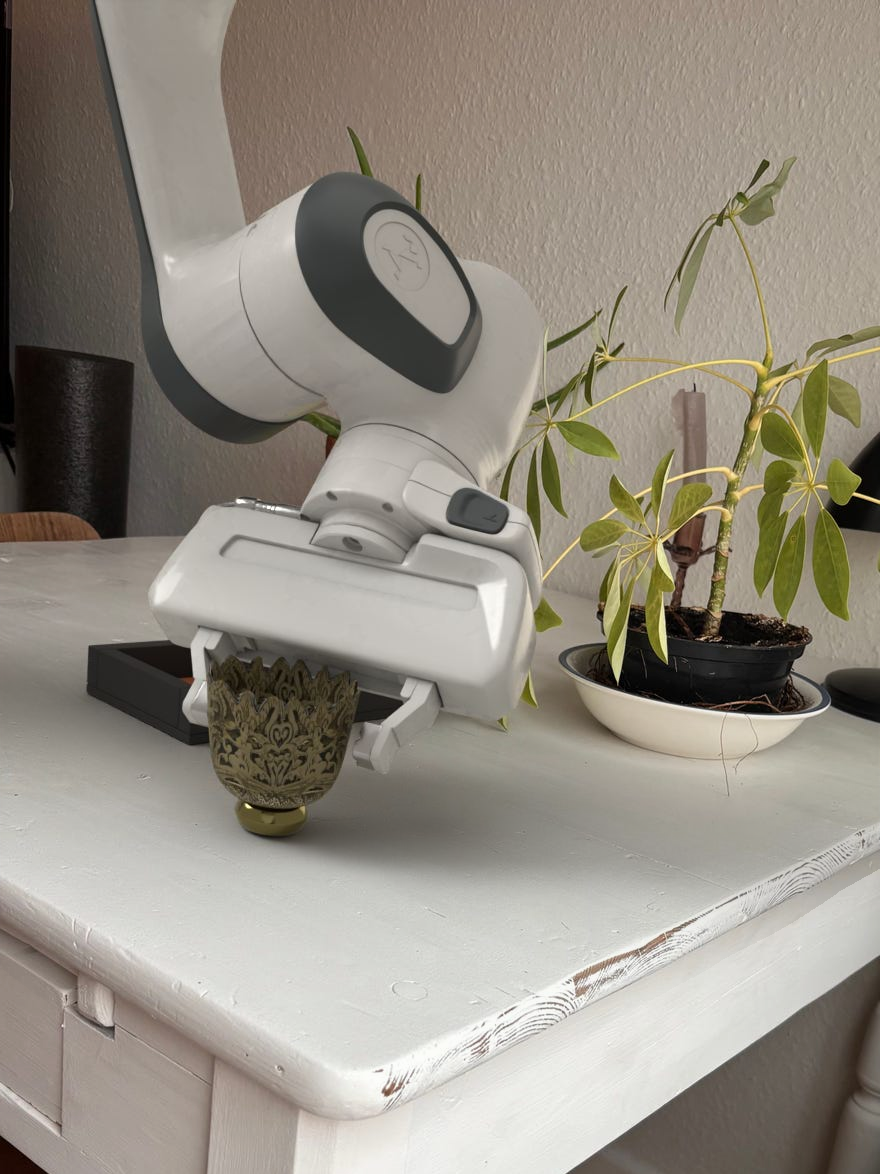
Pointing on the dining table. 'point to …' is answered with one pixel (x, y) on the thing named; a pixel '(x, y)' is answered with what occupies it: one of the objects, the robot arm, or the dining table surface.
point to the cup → (277, 738)
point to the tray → (172, 686)
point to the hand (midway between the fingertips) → (281, 742)
